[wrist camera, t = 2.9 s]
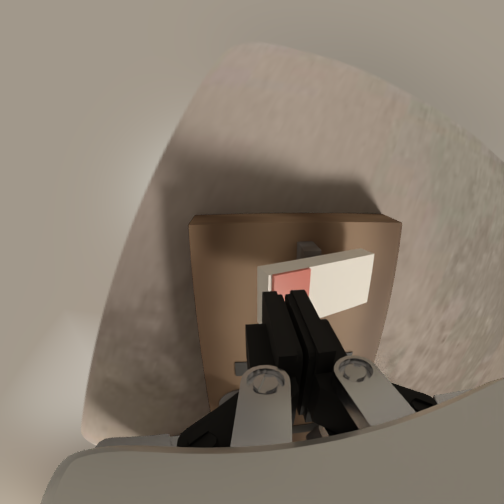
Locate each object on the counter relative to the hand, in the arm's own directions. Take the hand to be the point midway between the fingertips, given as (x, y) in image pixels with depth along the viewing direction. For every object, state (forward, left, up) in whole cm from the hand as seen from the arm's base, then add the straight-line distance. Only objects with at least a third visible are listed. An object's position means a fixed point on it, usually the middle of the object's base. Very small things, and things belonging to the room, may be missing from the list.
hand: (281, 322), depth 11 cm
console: (-3, +9, -10) cm, 14 cm away
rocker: (-3, 0, -5) cm, 5 cm away
